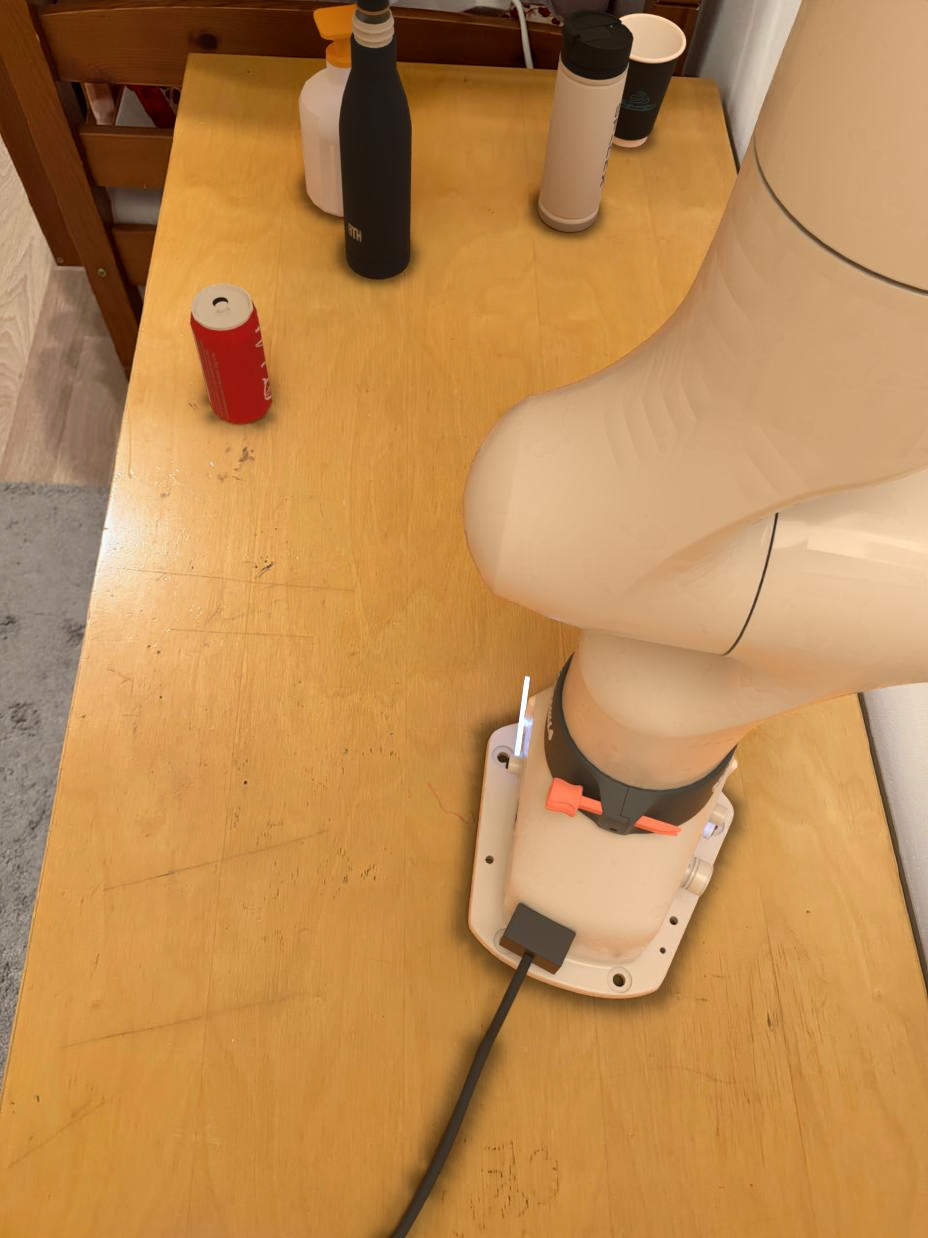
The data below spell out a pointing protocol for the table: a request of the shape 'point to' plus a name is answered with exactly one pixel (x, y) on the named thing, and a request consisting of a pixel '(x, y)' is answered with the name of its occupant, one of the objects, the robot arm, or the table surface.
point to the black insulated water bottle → (375, 148)
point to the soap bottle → (326, 111)
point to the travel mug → (583, 118)
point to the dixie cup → (646, 75)
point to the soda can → (231, 352)
